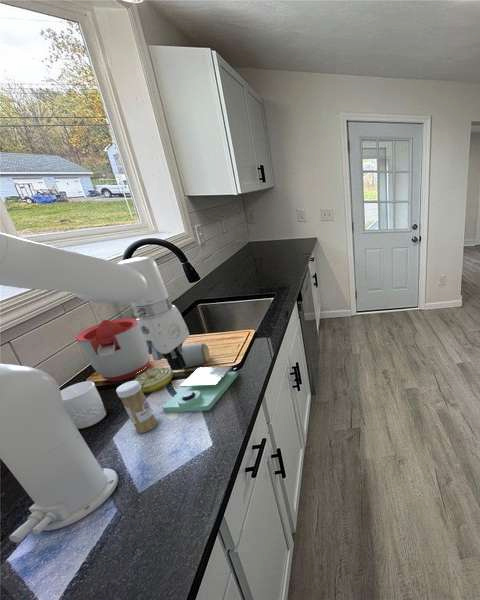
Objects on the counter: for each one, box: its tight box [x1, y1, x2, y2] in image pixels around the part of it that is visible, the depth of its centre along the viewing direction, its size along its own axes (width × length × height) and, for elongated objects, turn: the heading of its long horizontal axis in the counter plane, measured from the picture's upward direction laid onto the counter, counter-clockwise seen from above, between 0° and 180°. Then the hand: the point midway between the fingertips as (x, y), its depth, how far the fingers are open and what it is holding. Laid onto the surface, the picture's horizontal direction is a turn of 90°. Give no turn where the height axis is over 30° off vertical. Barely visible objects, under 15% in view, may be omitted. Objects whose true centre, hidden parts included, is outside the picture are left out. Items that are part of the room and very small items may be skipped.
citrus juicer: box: [75, 317, 151, 382], centre depth 103 cm, size 16×17×20 cm
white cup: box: [60, 380, 107, 430], centre depth 84 cm, size 8×8×10 cm
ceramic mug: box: [181, 342, 210, 369], centre depth 110 cm, size 11×8×8 cm
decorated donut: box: [133, 367, 174, 394], centre depth 99 cm, size 10×11×4 cm
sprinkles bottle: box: [115, 380, 158, 434], centre depth 80 cm, size 5×5×14 cm
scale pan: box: [180, 366, 233, 388], centre depth 97 cm, size 9×11×1 cm
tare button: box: [183, 391, 195, 401], centre depth 88 cm, size 3×3×1 cm
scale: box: [162, 371, 238, 413], centre depth 94 cm, size 16×13×3 cm
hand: (179, 368), depth 85 cm, fingers closed
